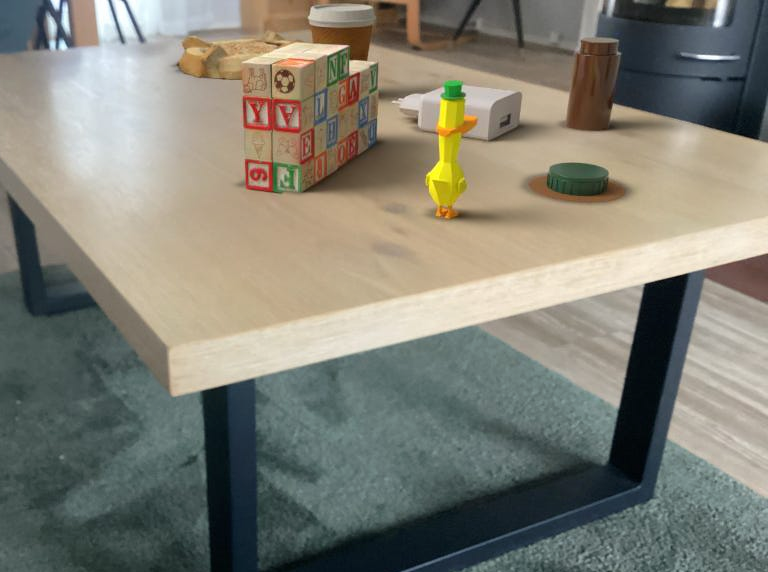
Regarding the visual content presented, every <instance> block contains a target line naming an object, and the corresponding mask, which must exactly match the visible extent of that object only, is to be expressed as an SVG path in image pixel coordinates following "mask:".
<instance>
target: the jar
mask: <svg viewBox="0 0 768 572" xmlns="http://www.w3.org/2000/svg"><path fill="white" fill-rule="evenodd" d="M619 43H620V40H619V39H616V38H611V37H600V36H599V37H595V36H594V37H592V36H591V37H584V38H581V39H580V48H579V49H577V50H576V51H574V60H573V67H572V73H571V81H570V87H569V94H568V101H567V106H566V107H567V108H566V115H565V123H564V125H565V127H567V128H569V129H572V130H577V131H586V132H589V131H590V132H598V131H605V130H608V129H609V128H610V124H611V118H612V113H613V105H614V100H615V94H616V90H617V89H616V87H617V82H618V76H619V71H620V65H621V59H622V52H620V51H618V50H619V47H620V45H619Z"/></svg>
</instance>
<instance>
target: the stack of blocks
mask: <svg viewBox="0 0 768 572" xmlns="http://www.w3.org/2000/svg"><path fill="white" fill-rule="evenodd" d="M349 54H350V46H348V45H329V44H313V43H309V42H306V43H293V44H290V45H288V46H285V47H282V48H279V49H276V50H274V51H273V52H270V53H267V54H264V55H262V56H259V57H255V58H252V59H249V60H247V61H244V62H242V79H241V81H242V123H243V124H242V126H243V137H244V139H243V140H244V172H245V173H244V176H245V177H244V178H245V179H244V181H245V188H246V189H248V190H256V191H263V192H271V193H273V192H274V193H278V194H283V193H284V192H285V191H287V192H294V193H303V192H304V191H306V190H307V189H308V188H310V187H312V186H314V185H316V184H317V183H318V182H320V181H322V180H323V179H325V178H327V176H330V175H331V174H332V173H334V172H335V171H337V170H338V168H340V167H342V166H343V165H345V164H346V163H348V161H350V160H351V159H353V158H355V157H356V156H358V155H360V154H361V153H363V152H365V151H366V150H368V149H369V148H371V147H372V146H373V145H374V144H376V143H377V140H378V139H377V137H378V135H377V134H378V115H379V90H378V86H379V85H378V84H379V61H371V60H370V61H369V60H367V61H359V60H349Z"/></svg>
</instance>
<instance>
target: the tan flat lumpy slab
mask: <svg viewBox="0 0 768 572" xmlns="http://www.w3.org/2000/svg"><path fill="white" fill-rule="evenodd" d="M293 43H307V42H306V41H305V40H303V39H302V38H301V39H300V38H299V39H295V40H292V41H290V40H286V38H285V37H284V36H282V35H280V33H278V32H275V31H273V30H271V29H267V30H266V31H265V34H264V35H262V38H261V39H260V38H250V39H249V38H238V39H228V40H220V41H213V42H212V41H207V40H205V39H203V38H201V37H198V36H196V35H193V34H192V35H189V36H188V37H186V38H185V39H184V40H183V41H182V42H181V46H182V48H183V49H184V51H183V54H182V55H181V58H180V59H179V61H177V63H176V65H175V66H177V67H179V69H180V70H181V71H182V72H183V73H185V74H186V75H191V76H193V77H195V78H208V79H209V78H210V79H218V80H219V79H227V80H242V62H244V61H247V60H249V59H252V58H255V57H259V56H262V55H264V54H267V53H270V52H273V51H274V50H276V49H279V48H282V47H285V46H288V45H290V44H293Z"/></svg>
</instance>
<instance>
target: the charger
mask: <svg viewBox="0 0 768 572" xmlns="http://www.w3.org/2000/svg"><path fill="white" fill-rule="evenodd" d="M444 92H445V88H444V86H442V87H440V88H437V89H434V90H432V91H428V92H426V93H424V94H423V93H412V94H409V95H406V96H405V97H404V98H398V100H391V105H398V106H399V107H398V109H399V111H400V112H401V113H402V114H404V115H405V116H411V117H417V126H418V128H419V129H420V131H422V132H428V133H435V134H438V133H437V131H436V127H437V123H438V120H439V116H440V103H441V99H442V98H441V97H440V95H441V94H442V93H444ZM461 92H464V93H465V94H466V97H464V98H465V99H466V101H465V112H464V115H469V116H476V117H478V121H477V124H476V126H475V127H474V128H473V129H472V130H470V131H469V132H467V133H465V134H462V137H461V138H467V139H473V140H481V141H487V142H489V141H491V140H493V139H496V138H497V137H500V136H502V135H503V134H505V133H507V132H509V131H512V130H514V129H515V128H517V127H518V126H519V124H520V117H521V110H522V109H521V108H522V101H523V94H522V93H523V92H521V91H517V90H510V89H502V88H501V89H500V88H491V87H484V86H475V85H467V84H462V90H461Z"/></svg>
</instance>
